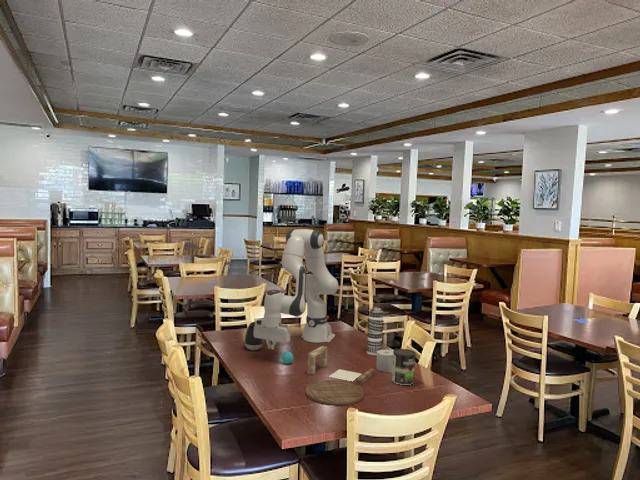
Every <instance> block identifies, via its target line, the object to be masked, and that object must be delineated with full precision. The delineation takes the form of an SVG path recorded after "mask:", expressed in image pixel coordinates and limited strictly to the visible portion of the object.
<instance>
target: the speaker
mask: <svg viewBox="0 0 640 480" xmlns="http://www.w3.org/2000/svg"><path fill="white" fill-rule="evenodd" d="M255 325H256V324H255V321H251V322H250V323H249V325H248V326H247V329H246V332H245V335H244V341H243V342H244V345H245V348H247V350H250V351H258V350H260V349H261V348H262V346H263V343H264V339H259V338H255V337H254V335H253V333H254V326H255Z"/></svg>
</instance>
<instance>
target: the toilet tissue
mask: <svg viewBox="0 0 640 480" xmlns="http://www.w3.org/2000/svg"><path fill="white" fill-rule="evenodd" d="M393 351H394V350H391V349H382V350H379V351H377V355H376V366H375V368H376V370H377V371H378V370H379V371H378V372H380V371H383V372H382V373H386V372H390V373H389V374H392V373H393V354H394V353H393Z"/></svg>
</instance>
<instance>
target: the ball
mask: <svg viewBox="0 0 640 480" xmlns="http://www.w3.org/2000/svg"><path fill="white" fill-rule="evenodd" d="M281 361H282V362H283V363H284V364H286V365H290V364H291V363H292V362H293V361H294V355H293V352H291V351H285V352H283V353H282V355H281Z"/></svg>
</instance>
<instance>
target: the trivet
mask: <svg viewBox="0 0 640 480" xmlns="http://www.w3.org/2000/svg"><path fill="white" fill-rule="evenodd" d="M305 395H306V397H307V398H308V399H309V400H310V399H311V400H310V401H312V400H313V402H314V403H317V404H320V405H324V404H325V405H324V406H330V405H335V406H334V407H343V406H342V405H347V406H349V405H348V404H352V403H356V402H358V403H360V402H362V401H363V400H362V399H364V398H365V391H364V389H363V387H362V386H358V385H356V383H353V382H350V381H346V380H341V379H326V380H325V379H324V380H318V381H315V382H312V383H310V384H308V385H307V386H306V388H305ZM361 400H362V401H361ZM359 401H360V402H359ZM356 404H357V403H356ZM352 405H353V404H352Z"/></svg>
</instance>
